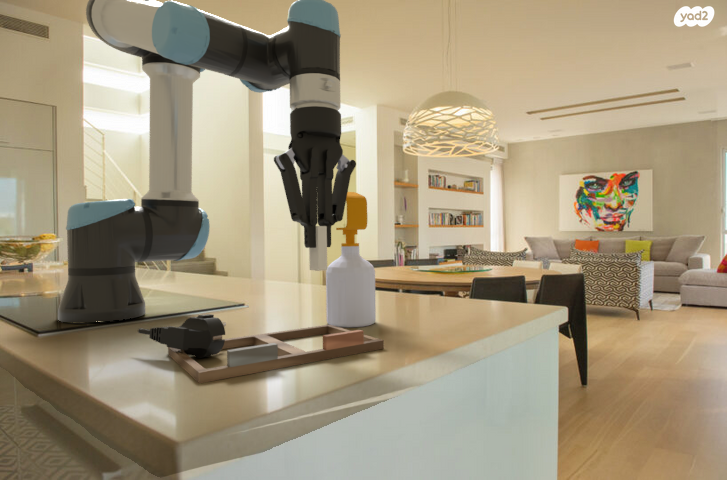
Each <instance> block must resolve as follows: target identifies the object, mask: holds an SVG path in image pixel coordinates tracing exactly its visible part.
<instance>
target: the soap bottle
mask: <svg viewBox="0 0 727 480" xmlns="http://www.w3.org/2000/svg"><path fill="white" fill-rule="evenodd" d="M345 204H346V224H345V227H336V231H342V235H345V242H344V243H343V242H342V243H341V247H340V248H341V249H340V250H341V251H340V252H341V254H340V256H339V257H338V258H336V259H335V260H333V261H332V262H330V264H329V265H327V270H325V291H326V292H325V293H326V300H325V301H326V303H325V305H326V309H325V310H326V323H327V325H333V326H337V327H340V328H345V329H347V328H348V329H349V328H351V329H352V328H363V327H368V326H371V325H373V324H374V323H376V313H377V312H376V270H375V267H374V265H373V264H372V263H370V261H369V260H367V259H365V258H363V257H362V256H361V254H360V243H359V242H356V241H355V239H356V238H355V236H356V235H358V231H359V230H360V231H361V230H366V229H367V227H368V200H367V197H366V196H364V195H363V194H360V193H358V192H354V191H348V192H347V198H346V203H345Z"/></svg>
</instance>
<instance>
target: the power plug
mask: <svg viewBox="0 0 727 480" xmlns="http://www.w3.org/2000/svg"><path fill="white" fill-rule="evenodd" d="M214 316H215V315H214V314H209V313H206V314H198V315H197V316H193V317H192V316H191V317H188V318H187V319H186V320H185V321H184V322H183V323H182V324H181V325H180V326H172V325H171V326H160V327H159V326H158V327H150V329H146V328H138V330H137V333H138V334H142V335H147V336H148V335H149V339H151V340H153V341H155V342H157V343H159V344H161V345H166V347H167V348H168V347H170V348H176V349H181V350H184V351H185V353H186V354H187V355H188V356H193V357H195V358H196V359H197V358H198V359H202V358H203V359H204V358H208V357H211V356H215V355H217V354H218V353H220V351H222V350H223V349H222V347H223V345H224V343H225V340H223V339H224V338H223V336H225V335H226V330H225V329H226V328H225V327H226V321H224V320H223V321H222V320H221V319H220V318H219V317H214Z"/></svg>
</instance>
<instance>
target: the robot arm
mask: <svg viewBox="0 0 727 480" xmlns="http://www.w3.org/2000/svg"><path fill="white" fill-rule="evenodd" d="M287 14H288V15H287V20H286V22H287V27H284V28H283V29H281V30H280V31H277V32H276V33H273V34H271V35H269V34H268V35H267V34H265V33H262V32H260V31H257V30H255V29H252V28H249V27H247V26H243V25H241V24H238V23H235V22H233V21H229V20H227V19H225V18H222V17H219V16H217V15H214V14H211V13H208V12H205V11H204V10H200V9H198V8H197V7H195V6H194V5H190V4H186V3H181V2H178V1H175V0H167V1H164V2H160V1H157V0H88V1H87V3H86V7H85V17H86V21H87V24H88V26H89V28H90V29H91V31H92V33H94V35H95V36H96V37H97V38H98V39H99V40H100V41H102V42H103V43H104V44H105V45H107V46H108V47H111V48H113V49H115V50H118V51H119V52H121V53H126V54H128V55H131V56H134V57H135V56H136V57H138V58H141V61H142V62H141V69H142V71H143V72H144V74H146V75H147V76H148V77H149V150H148V151H149V159H148V160H149V165H148V169H149V170H148V171H149V172H148V173H149V175H148V176H149V177H148V178H149V181H148V182H149V183H148V184H149V185H148V191H147V192H146V193H145V194H144V195H143V196H142V197H141V201H140V202H141V206H138V205H136V202H135V201H134V198H133V199H132V198H121V199H109V200H97V201H87V202H78V203H74V204H72V205H71V206H70V207H69V208H68V210H67V217H66V226H65V230H66V235H67V236H66V238H67V240H66V241H67V242H66V243H67V282H66V284H65V288H64V291H63V294H62V297H61V299H60V302H59V305H58V308H57V321H58V320H59V321H61V322H60V323H63V322H72V323H71V324H74V323H73V322H96V321H97V322H98V321H110V322H114V321H113V320H119V321H123V319H125V320H130V318H131V319H135V318H138V317H141V316H144V315H145V314H146V301H145V299H144V296H143V293H142V291H141V288H140V285H139V283H138V280H137V276H136V263H142V262H143V263H144V262H147V263H148V262H163V261H167V262H168V261H173V262H174V261H175V262H178V261H179V262H180V261H182V260H191V259H194V258H196V257H198V256H199V255H200V254H201V253H202V251H203V250H204V249H205V247H206V245H207V243H208V239H209V236H210V219H209V218H208V214H207V212H206V211H205V210H204V209H202V208H201V207H199V205H200V203H199V202H200V200H199V199H198V197H196V195H194V194H193V192H192V190H193V189H192V188H193V187H192V185H193V184H192V183H193V182H192V176H193V172H192V171H193V170H192V169H193V108H194V107H193V102H194V101H193V98H194V97H193V94H194V93H193V91H194V89H193V87H194V86H193V85H194V83H195V82H196V81H197V80H199V79H200V78H201V73H202V72H204V71H210V72H214V73H218V74H223V75H225V76H229V77H232V78H235V79H239V81H240V82H241V83H242V84H243V86H245V87H246V88H247V89H248V90H250V91H252V92H254V93H262V94H263V93H265V92H273V91H276V90H279V89H280V88H283V87H285V86H286V85H289V108H290V109H291V112H290V113H289V125H290V126H289V130H290V137H291V138H290V142H289V144H288V149H287V150H286V151H284V152H282V153H280V154H278V155H275V156H274V157H273V162H274V164H275V165H276V167H277V169H278V171H279V172H280V176H281V180H282V184H283V188H284V193H285V197H286V201H287V204H288V209H289V213H290V218H291V220H292V221H293V222H295V223H299V224H300V226H301V227H303V236H304V237H303V238H304V239H303V240H304V241H303V244H304V246H305V248H307V249H308V251H309V259H308V260H309V271H315V272H316V271H317V272H320V271H321V272H323V271H326V270H327V268H328V248H331V246H332V226H334V225H335V224H336V223H338V222H341V221H342V220H343V219H344V214H345V208H346V207H345V206H346V204H347V203H346V198H347V192H349V186H350V180H351V177H352V176H351V175H352V173H353V172H354V170H355V168H356V166H357V162H356V161H355V160H354V159H349V158H348V157H346V156H345V155H344V154H343V153H344V150H343V148H342V145H341V142H340V141H341V137H342V114H341V113H340V111H339V110H340V109H341V57H340V56H341V55H340V54H341V49H340V48H341V35H342V34H341V31H340V29H341V28H340V19H339V12H338V10H337V8H336V7H335V6H334V5H333V4H332V3H330V2H328V1H326V0H296V1H294V2H293V3H291V5H290V6H289V9H288V13H287ZM295 163H296V165H297V166H298V168H299V178H298V174H297V170H296V168H295V165H294V164H295ZM335 167H336V169H337V171H336V173H335V177H334V169H335ZM299 179H300V180H301V188H300V183H299ZM333 179H334V184H333ZM317 224H318V225H317ZM59 321H58V322H59Z"/></svg>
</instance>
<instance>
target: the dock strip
mask: <svg viewBox="0 0 727 480" xmlns="http://www.w3.org/2000/svg"><path fill="white" fill-rule="evenodd" d="M318 335H319V336H320V335H322V348H321V349H315V350H314V349H313V350H309V351H306V350H303V349H301V348H299V347H297V346H294V345H291V344H289V343H286V342H284V341H285V340H292V339H298V338H300V339H301V338H305V337H312V336H318ZM222 339H223V340H225V343H224V345H223V347H222V349H221V350H226V349H227V350H226V365H222V366H216V367H209V368H205V367H204V366H202V365H201V364H200V363H198V362H197V361H196V360H195V359H194V358H192V357H191V356H190V355H188V354H186V353H185V351H184V350H181V349H176V348H170V347H167V353H168V354H167V355H168V356H169V357H170V358H172V359H173V361H174V362H175V363H177V364H178V365H179V366H180V367H181V368H182V369H183V370H185V372H187V373H188V374H189V375H190V376H191V377H192V378H193V379H194V380H195V381H197V382H198V383H199V384H204V383H208V382H210V383H211V382H214V381H218V380H225V379H231V378H235V377H241V376H245V375H251V374H255V373H256V374H257V373H261V372H266V371H268V372H269V371H272V370H278V369H282V368H283V369H285V368H288V367H294V366H298V365H304V364H309V363H314V362H320V361H324V360H325V361H326V360H331V359H336V358H341V357H346V356H353V355H357V354H363V353H367V352H373V351H378V350H383V349H384V348H385V347H384V346H385V345H384V344H385V343H384V339H381V338H377V337H374V336H370V335H367V334H364V330H361V329H356V330H350V329H347V328H345V327H337V326H333V325H329V324H324V325H317V326H310V327H309V326H308V327H303V328H301V327H300V328H295V329H289V330H281V331H280V330H279V331H275V332H266V333H259V334H252V335H244V336H238V337H232V338H231V337H230V338H225V339H224V338H222Z"/></svg>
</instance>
